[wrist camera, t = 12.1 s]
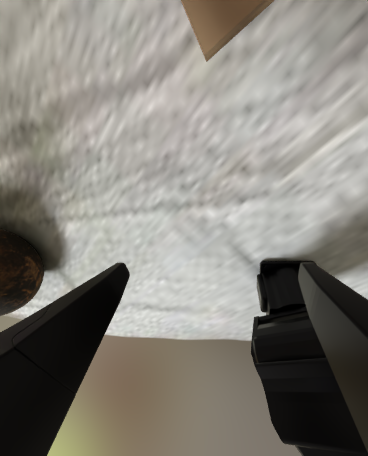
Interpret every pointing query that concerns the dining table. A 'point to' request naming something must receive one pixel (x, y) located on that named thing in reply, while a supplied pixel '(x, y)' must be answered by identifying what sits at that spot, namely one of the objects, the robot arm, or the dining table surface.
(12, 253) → the glass bottle
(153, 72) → the dining table surface
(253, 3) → the housing board
